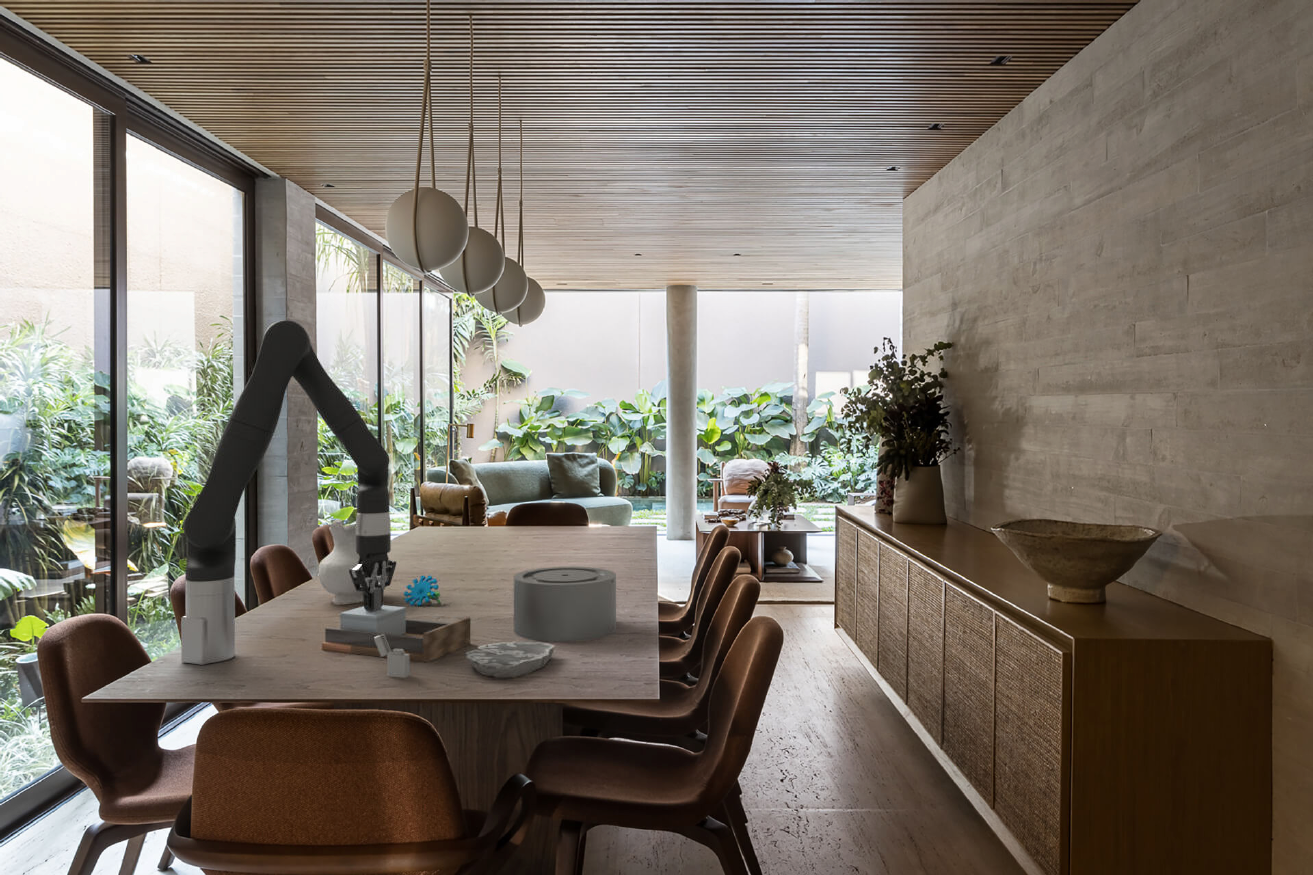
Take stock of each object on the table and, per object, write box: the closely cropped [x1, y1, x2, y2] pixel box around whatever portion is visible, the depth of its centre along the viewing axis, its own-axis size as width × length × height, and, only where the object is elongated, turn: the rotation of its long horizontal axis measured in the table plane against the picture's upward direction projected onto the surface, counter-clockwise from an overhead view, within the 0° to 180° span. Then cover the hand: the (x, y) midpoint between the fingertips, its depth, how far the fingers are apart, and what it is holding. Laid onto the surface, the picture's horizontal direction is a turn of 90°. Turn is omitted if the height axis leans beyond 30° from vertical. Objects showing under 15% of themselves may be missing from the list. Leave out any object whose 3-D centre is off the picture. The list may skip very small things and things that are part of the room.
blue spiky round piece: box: [403, 574, 442, 607], centre depth 229 cm, size 11×6×10 cm
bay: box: [321, 616, 471, 663], centre depth 183 cm, size 16×28×6 cm, turn 69°
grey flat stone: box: [464, 640, 555, 679], centre depth 168 cm, size 20×17×3 cm
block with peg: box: [339, 587, 407, 635], centre depth 185 cm, size 10×10×11 cm
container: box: [513, 566, 617, 643], centre depth 199 cm, size 25×25×13 cm
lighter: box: [374, 634, 411, 679], centre depth 161 cm, size 7×2×8 cm, turn 75°
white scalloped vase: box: [317, 518, 388, 606], centre depth 234 cm, size 22×20×25 cm
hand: (373, 607), depth 185 cm, fingers closed on block with peg, 2 cm apart
